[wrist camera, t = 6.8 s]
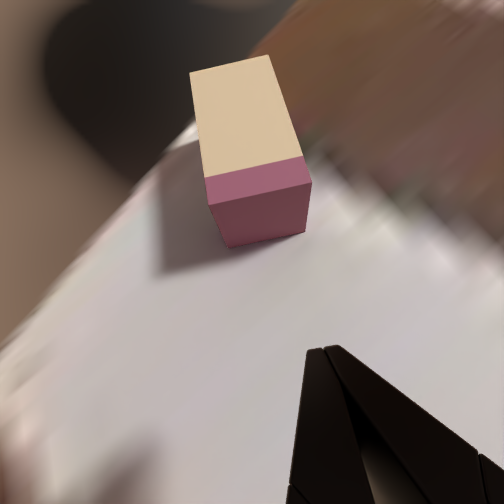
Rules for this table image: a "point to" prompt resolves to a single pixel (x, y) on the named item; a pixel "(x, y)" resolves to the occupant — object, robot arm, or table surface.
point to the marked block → (249, 153)
